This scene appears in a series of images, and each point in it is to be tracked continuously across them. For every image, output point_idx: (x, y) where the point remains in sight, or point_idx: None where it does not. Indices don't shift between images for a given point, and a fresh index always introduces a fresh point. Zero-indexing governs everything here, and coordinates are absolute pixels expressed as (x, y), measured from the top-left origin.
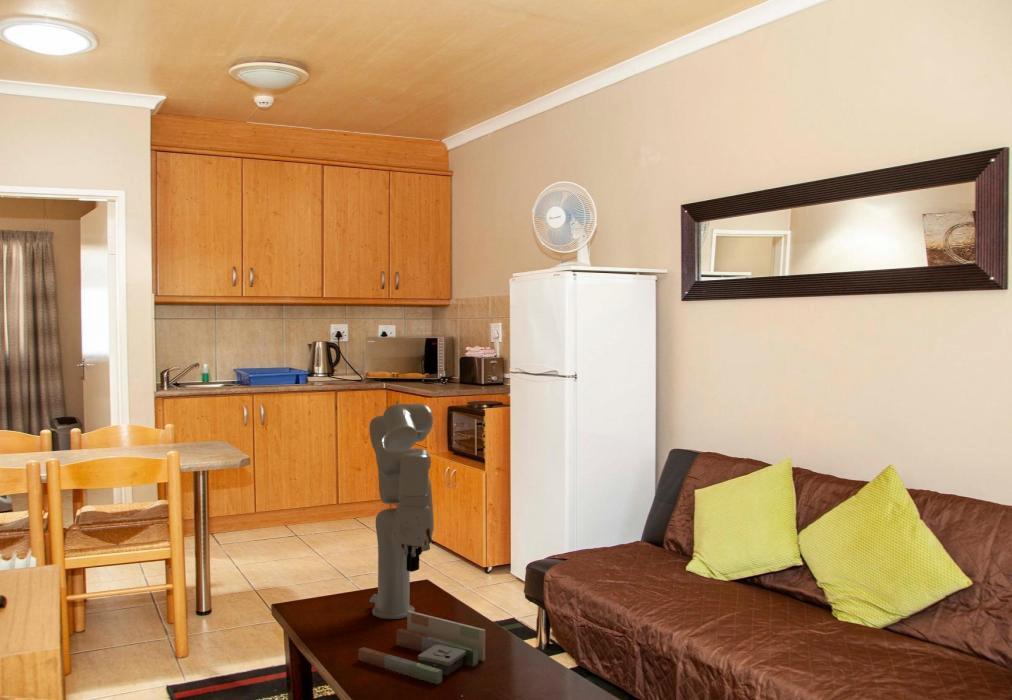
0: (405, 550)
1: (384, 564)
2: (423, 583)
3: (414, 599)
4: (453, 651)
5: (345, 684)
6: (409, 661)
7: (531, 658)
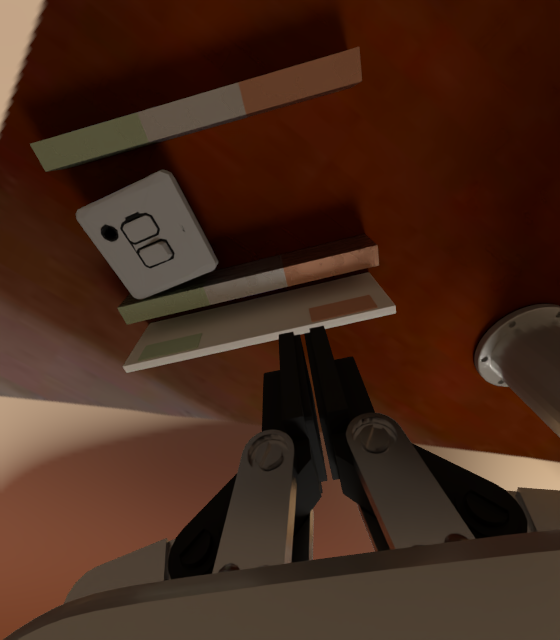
0: (396, 459)
1: None
2: None
3: (532, 412)
4: (141, 270)
5: None
6: (156, 130)
7: (119, 393)
